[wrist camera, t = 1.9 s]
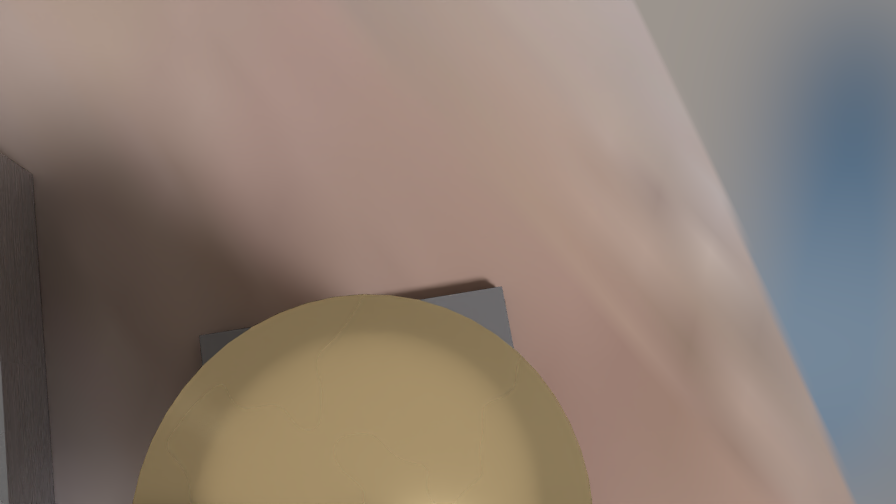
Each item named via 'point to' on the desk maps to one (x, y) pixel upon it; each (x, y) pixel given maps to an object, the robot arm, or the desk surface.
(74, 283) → the desk surface
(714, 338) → the desk surface
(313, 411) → the brass knob
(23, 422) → the plate
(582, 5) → the desk surface
